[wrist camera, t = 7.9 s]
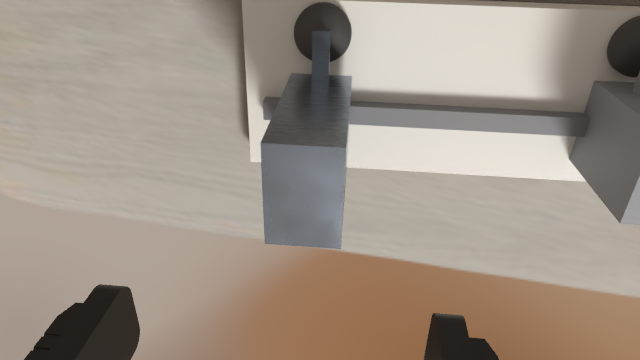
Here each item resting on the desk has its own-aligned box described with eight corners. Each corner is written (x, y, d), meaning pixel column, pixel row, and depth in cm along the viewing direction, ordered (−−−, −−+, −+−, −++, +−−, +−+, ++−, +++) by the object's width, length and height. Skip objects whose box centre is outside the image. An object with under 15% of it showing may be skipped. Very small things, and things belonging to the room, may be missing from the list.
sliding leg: (355, 26, 22) (350, 83, 15) (347, 154, 26) (340, 248, 19) (291, 24, 23) (257, 79, 15) (292, 151, 26) (264, 243, 19)
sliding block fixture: (699, 8, 23) (830, 49, 16) (633, 171, 27) (715, 254, 21) (247, -9, 24) (205, 23, 18) (256, 150, 29) (224, 221, 22)
